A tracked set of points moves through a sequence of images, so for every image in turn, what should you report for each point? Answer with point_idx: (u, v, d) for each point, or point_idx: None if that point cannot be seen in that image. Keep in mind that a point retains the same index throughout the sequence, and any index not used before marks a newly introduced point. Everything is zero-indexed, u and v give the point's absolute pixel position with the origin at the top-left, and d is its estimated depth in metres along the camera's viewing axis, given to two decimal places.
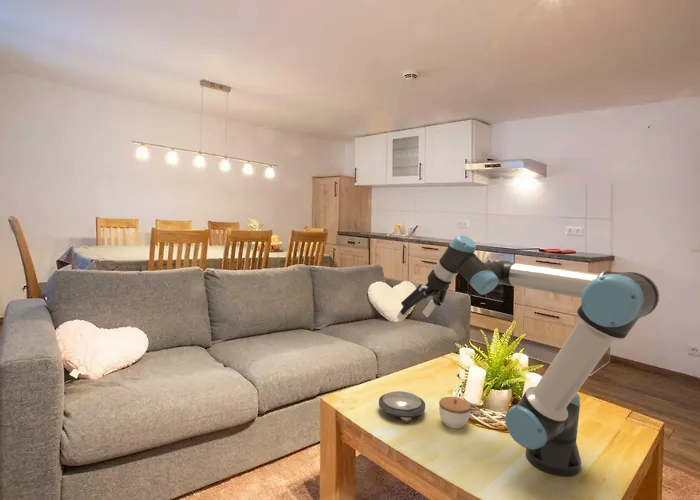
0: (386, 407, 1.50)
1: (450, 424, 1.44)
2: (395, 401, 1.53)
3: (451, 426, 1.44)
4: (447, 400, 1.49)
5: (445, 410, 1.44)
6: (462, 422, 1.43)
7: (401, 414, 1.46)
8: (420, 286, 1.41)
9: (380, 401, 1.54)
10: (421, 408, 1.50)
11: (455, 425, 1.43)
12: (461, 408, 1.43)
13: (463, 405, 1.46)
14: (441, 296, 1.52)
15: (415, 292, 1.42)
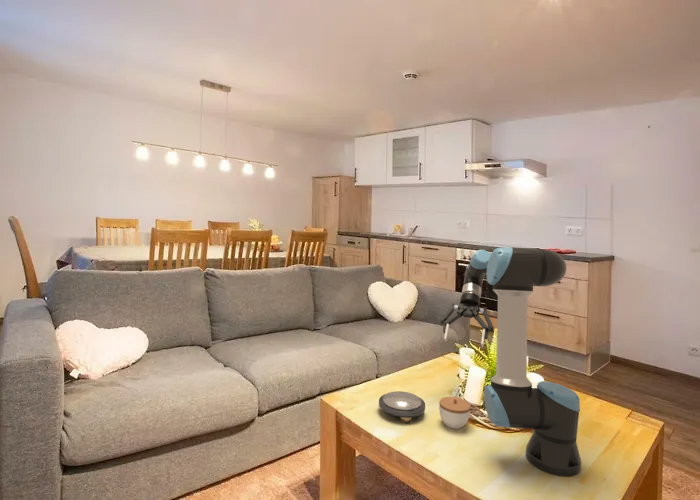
0: (386, 407, 1.50)
1: (450, 424, 1.44)
2: (395, 401, 1.53)
3: (451, 426, 1.44)
4: (447, 400, 1.49)
5: (445, 410, 1.44)
6: (462, 422, 1.43)
7: (401, 414, 1.46)
8: None
9: (380, 401, 1.54)
10: (421, 408, 1.50)
11: (455, 425, 1.43)
12: (461, 408, 1.43)
13: (463, 405, 1.46)
14: (487, 321, 1.62)
15: None
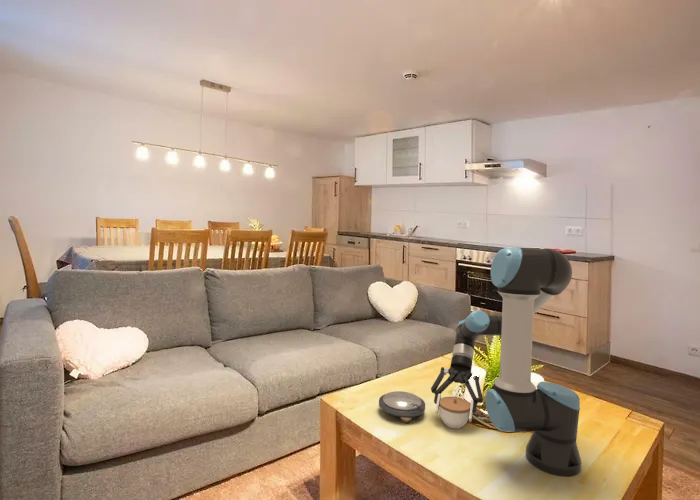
0: (386, 407, 1.50)
1: (450, 424, 1.44)
2: (395, 401, 1.53)
3: (451, 426, 1.44)
4: (447, 400, 1.49)
5: (445, 410, 1.44)
6: (462, 422, 1.43)
7: (401, 414, 1.46)
8: None
9: (380, 401, 1.54)
10: (421, 408, 1.50)
11: (455, 425, 1.43)
12: (460, 408, 1.43)
13: (463, 405, 1.46)
14: (477, 390, 1.48)
15: None
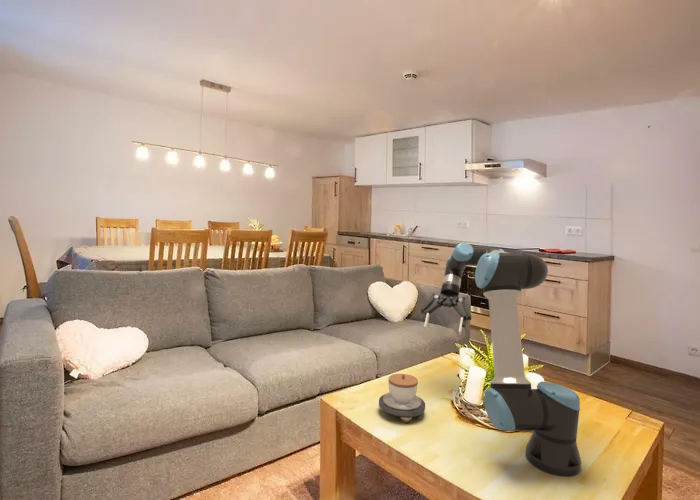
0: (386, 407, 1.50)
1: (397, 398, 1.51)
2: (395, 401, 1.53)
3: (398, 400, 1.51)
4: (396, 376, 1.56)
5: (393, 385, 1.51)
6: (408, 396, 1.50)
7: (401, 414, 1.46)
8: None
9: (380, 401, 1.54)
10: (421, 408, 1.50)
11: (402, 399, 1.50)
12: (407, 383, 1.50)
13: (411, 380, 1.52)
14: (465, 310, 1.69)
15: None
